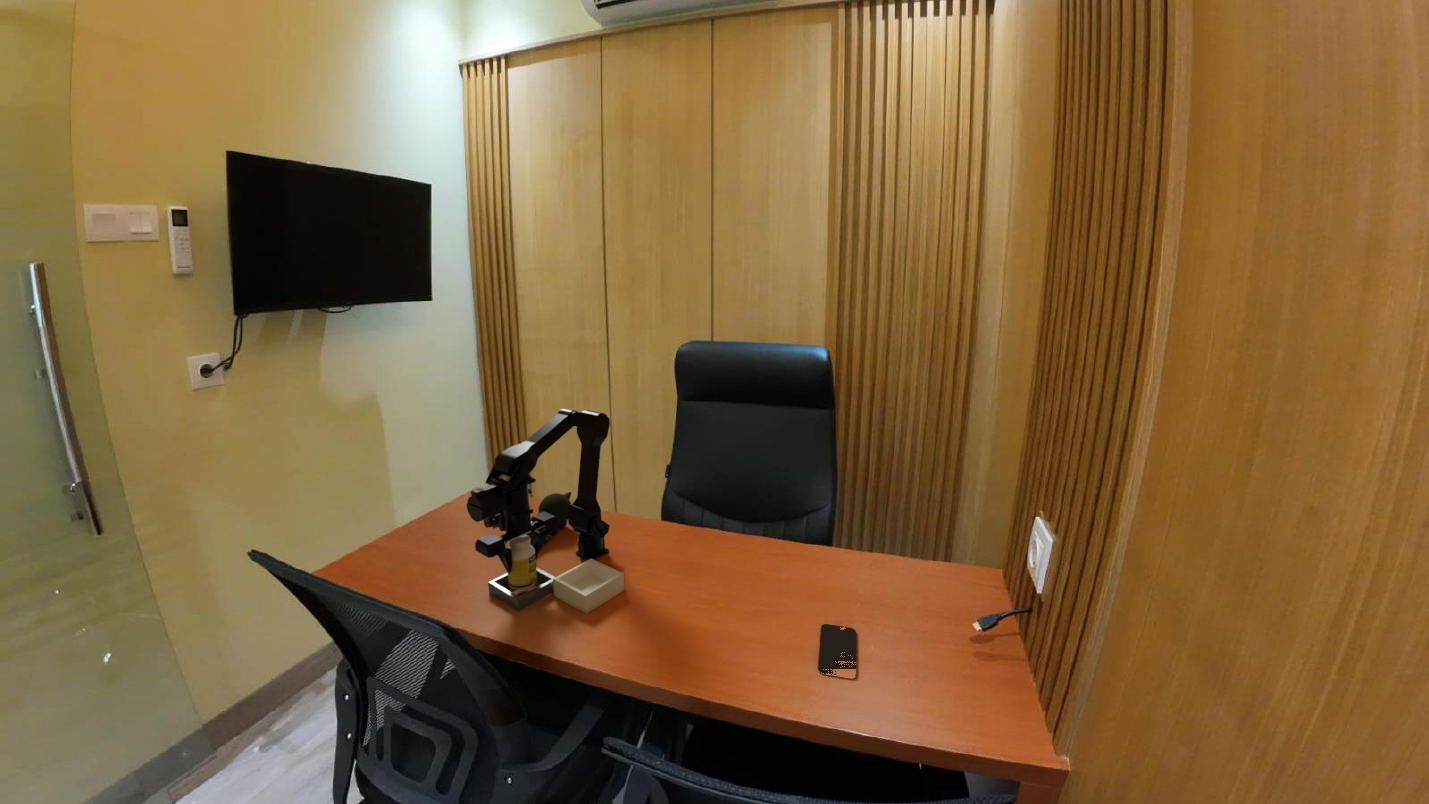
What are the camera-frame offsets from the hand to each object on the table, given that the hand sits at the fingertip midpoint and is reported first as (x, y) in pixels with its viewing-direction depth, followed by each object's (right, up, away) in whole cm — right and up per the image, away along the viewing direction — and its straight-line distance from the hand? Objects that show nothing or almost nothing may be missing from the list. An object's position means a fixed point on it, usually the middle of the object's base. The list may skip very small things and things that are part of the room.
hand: (521, 565), depth 127 cm
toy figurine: (-3, 0, +28) cm, 29 cm away
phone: (+71, -12, -18) cm, 74 cm away
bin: (+16, -7, +1) cm, 17 cm away
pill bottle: (0, -5, +1) cm, 5 cm away
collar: (0, -7, +2) cm, 7 cm away
